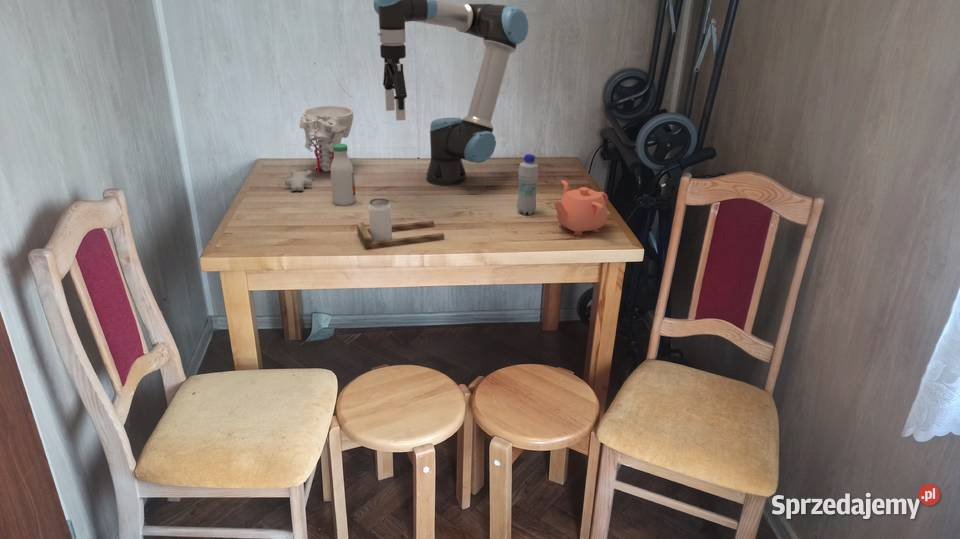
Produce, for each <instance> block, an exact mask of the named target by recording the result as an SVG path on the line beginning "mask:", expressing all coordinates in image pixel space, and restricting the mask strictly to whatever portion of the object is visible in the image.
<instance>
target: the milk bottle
mask: <svg viewBox="0 0 960 539" xmlns="http://www.w3.org/2000/svg"><path fill="white" fill-rule="evenodd" d="M333 150H334V151H333V152H334V159H333V161H332V164H331V172H330V181H331V182H330V183H331V193H332V194H331V195H332V202H333V203H334V204H335V205H337V206H350V205H352V204H355V202H356V187H355V186H356V184H355V174H354V168H353V167H354V166H353V164H352V162H351V161H350V158H349V156H348V144H346V143H340V144H335V145H333Z"/></svg>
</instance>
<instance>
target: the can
mask: <svg viewBox="0 0 960 539" xmlns="http://www.w3.org/2000/svg"><path fill="white" fill-rule="evenodd" d="M367 209H368V223H369V228H370V235H371V237H372V242H374V241H382V240H390V239H393V236H392V235H393V232H392V228H391V225H392V212H391V211H392V208H391V204H390V201H389V199H387V198H381V197H380V198H378V197H377V198H373V199H370V201H369V204H368V208H367Z"/></svg>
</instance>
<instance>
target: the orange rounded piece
mask: <svg viewBox="0 0 960 539" xmlns="http://www.w3.org/2000/svg"><path fill="white" fill-rule="evenodd" d="M560 181H561V183H562V187H563V194H562V197H561V199H560V200H559V199H557V200H554V201H553V204H554V207H555V212H556V219H557V221H558V223H559V224H560V225H561V228H563V229H568V230H570V231H573V235H575V236H579V237H580V236H582V235H583V232H589V231H591V232H594V233H598V232H600V228H603V226H604V225H606V223H607V220H608V209H607V202H608V195H607V194H606V192H603V191H596V190H593V189H592V188H588V187H586V186H582V187H579V188H578V189H571V188H570V185H569V184H568V182H567V181H566V180H564V179H560Z"/></svg>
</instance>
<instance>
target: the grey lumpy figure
mask: <svg viewBox="0 0 960 539" xmlns="http://www.w3.org/2000/svg"><path fill="white" fill-rule="evenodd" d="M313 174H314V173H313V171H312V170H311V169H307V170H305V171H298V170H296V169H292V170H291V175H292V177H289V178H286V179H284V185H285V187H289V188H290V189H291V191H292V192H302V191H303V192H304V191H305V188H309V187H313V179H311V178H308V177H310V176H311V175H313Z"/></svg>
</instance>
